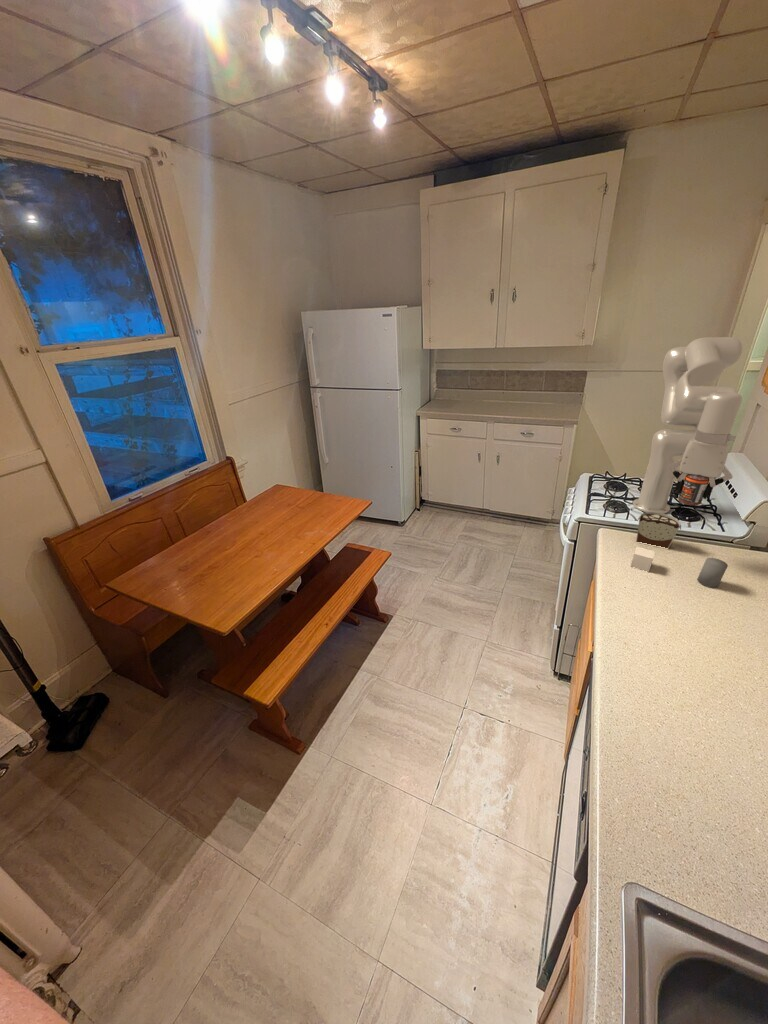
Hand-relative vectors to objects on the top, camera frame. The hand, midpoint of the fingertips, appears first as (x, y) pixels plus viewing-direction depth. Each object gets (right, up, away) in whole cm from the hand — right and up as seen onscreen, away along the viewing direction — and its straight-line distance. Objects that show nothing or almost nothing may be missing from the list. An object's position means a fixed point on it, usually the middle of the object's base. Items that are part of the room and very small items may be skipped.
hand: (691, 494), depth 123 cm
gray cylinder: (+1, -26, -4) cm, 27 cm away
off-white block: (-13, -22, +4) cm, 26 cm away
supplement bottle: (0, -2, +1) cm, 3 cm away
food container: (-1, -16, +17) cm, 23 cm away
